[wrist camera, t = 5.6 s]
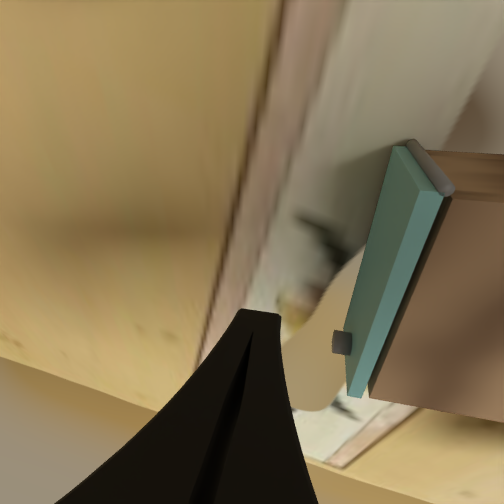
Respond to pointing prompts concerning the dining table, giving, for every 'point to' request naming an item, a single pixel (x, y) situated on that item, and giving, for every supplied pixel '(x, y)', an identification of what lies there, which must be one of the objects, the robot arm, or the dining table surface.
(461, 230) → the walnut cabinet
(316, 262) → the dining table surface
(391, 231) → the teal door
